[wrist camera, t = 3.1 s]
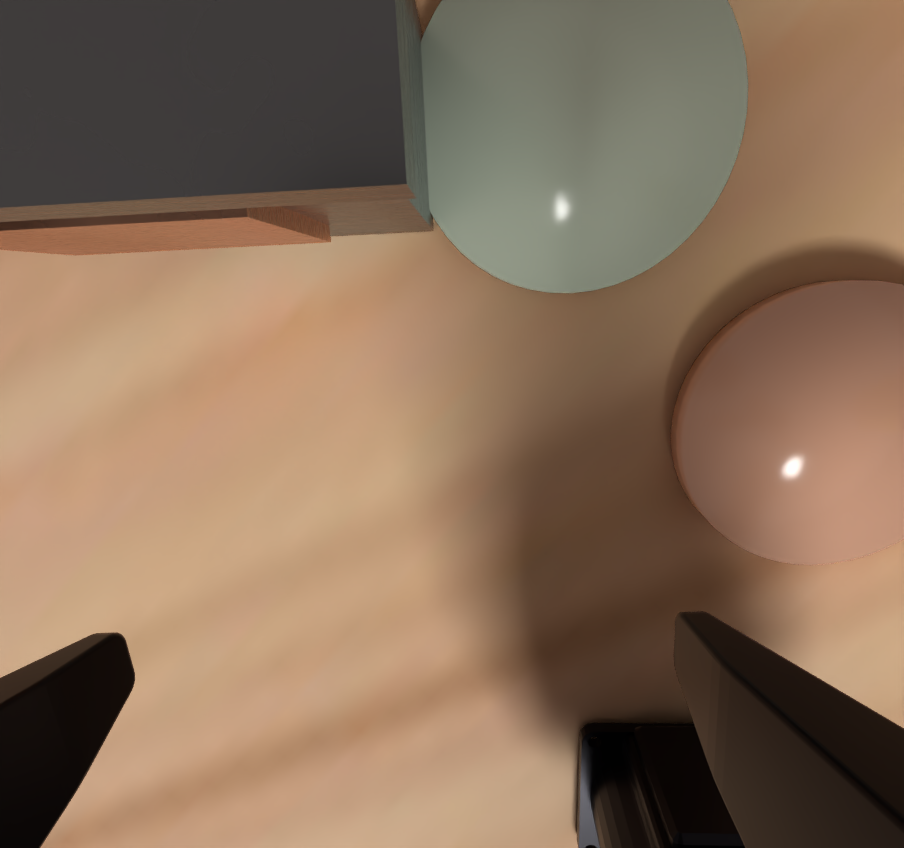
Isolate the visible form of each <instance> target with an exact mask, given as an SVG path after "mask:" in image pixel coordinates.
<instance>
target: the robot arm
mask: <svg viewBox="0 0 904 848" xmlns="http://www.w3.org/2000/svg"><path fill="white" fill-rule="evenodd" d="M674 665H675V670H676V674H677V677H678V680H679V683H680V685H681V688H682V691H683V694H684V697H685V700H686V702H687V705H688V708H689V711H690V714H691V717H692V719H693V722H694V724H680V723H591V724H587V725H585V726H583V727H582V729H581V730H580V738H579V776H578V814H577V843H578V848H904V728H902V727H901V726H899V725H897V724H895V723H894V722H892V721H890V720H889V719H887V718H885V717H884V716H882V715H880V714H878V713H877V712H875V711H873V710H872V709H870V708H868V707H867V706H865V705H863V704H861V703H860V702H858V701H856V700H855V699H853V698H851V697H850V696H848V695H846V694H845V693H843V692H841V691H839V690H838V689H836V688H834V687H833V686H831V685H829V684H828V683H826V682H824V681H822V680H821V679H819V678H817V677H816V676H814V675H812V674H811V673H809V672H807V671H805V670H804V669H802V668H800V667H799V666H797V665H795V664H794V663H792V662H790V661H788V660H787V659H785V658H783V657H782V656H780V655H778V654H777V653H775V652H773V651H772V650H770V649H768V648H766V647H765V646H763V645H761V644H760V643H758V642H756V641H755V640H753V639H751V638H749V637H748V636H746V635H744V634H743V633H741V632H739V631H738V630H736V629H734V628H732V627H731V626H729V625H727V624H726V623H724V622H722V621H721V620H719V619H717V618H716V617H714V616H712V615H710V614H709V613H707V612H703V611H697V612H680V613H679V614H678V615H677V616H676V619H675V638H674ZM134 682H135V672H134V668H133V664H132V661H131V657H130V654H129V650H128V647H127V643H126V640H125V638H124V637H123V635H122V634H119V633H96V634H92V635H90V636H88V637H86V638H84V639H82V640H79V641H77V642H75V643H73V644H71V645H69V646H67V647H65V648H63V649H60V650H58V651H56V652H54V653H52V654H50V655H48V656H46V657H44V658H41V659H39V660H37V661H35V662H33V663H31V664H29V665H27V666H25V667H22V668H20V669H18V670H16V671H14V672H12V673H10V674H8V675H6V676H3V677H1V678H0V848H40V847H41V846H42V844H43V843H44V841H45V840H46V838H47V836H48V835H49V833H50V832H51V830H52V829H53V827H54V826H55V824H56V823H57V821H58V819H59V818H60V816H61V815H62V813H63V812H64V810H65V809H66V807H67V806H68V804H69V802H70V801H71V799H72V798H73V796H74V794H75V793H76V791H77V789H78V788H79V786H80V784H81V783H82V781H83V779H84V777H85V776H86V774H87V772H88V770H89V769H90V767H91V765H92V763H93V761H94V759H95V758H96V756H97V754H98V752H99V750H100V748H101V746H102V745H103V743H104V741H105V739H106V737H107V735H108V734H109V732H110V730H111V728H112V726H113V724H114V722H115V721H116V719H117V717H118V715H119V713H120V711H121V710H122V708H123V706H124V704H125V702H126V700H127V699H128V697H129V695H130V693H131V691H132V689H133V686H134ZM592 737H597V738H594V739H591V738H592Z"/></svg>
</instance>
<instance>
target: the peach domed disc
mask: <svg viewBox="0 0 904 848" xmlns="http://www.w3.org/2000/svg"><path fill="white" fill-rule="evenodd" d="M671 450H672V457H673V463H674V467H675V470H676V473H677V477H678V479H679V481H680V483H681V486H682V488H683V490H684V492H685V494H686V495H687V497H688V498H689V500H690V501H691V503H692V504H693V505H694V507H695V508H696V509H697V510H698V511H699V512H700V513H701V514H702V515H703V516H704V518H705V519H706V520H707V521H708V522H709V523H710V524H711V525H712V526H713V527H714V528H715V529H716V530H717V531H718V532H720V533H721V534H722V535H723V536H725V537H726V538H727V539H728V540H729V541H731V542H733V543H734V544H736V545H737V546H739V547H741V548H742V549H744V550H746V551H748V552H751V553H753V554H755V555H758V556H760V557H763V558H767V559H770V560H774V561H777V562H783V563H789V564H798V565H823V564H834V563H839V562H845V561H851V560H854V559H858V558H861V557H865V556H868V555H871V554H873V553H876V552H878V551H881V550H883V549H886V548H888V547H890V546H892V545H894V544H896V543H898V542H900V541H901V540H903V539H904V285H902V284H897V283H891V282H885V281H867V280H846V281H827V282H817V283H811V284H807V285H803V286H799V287H794V288H791V289H789V290H786V291H783V292H780V293H778V294H775V295H773V296H771V297H769V298H767V299H765V300H763V301H761V302H759V303H757V304H755V305H753V306H752V307H750V308H749V309H747V310H746V311H744V312H743V313H741V314H740V315H738V316H737V317H735V318H734V319H733V320H732V321H731V322H730V323H728V324H727V325H726V326H725V327H724V328H722V329H721V330H720V331H719V332H718V333H717V334H716V335H715V337H714V338H713V339H712V340H711V341H710V342H709V343H708V344H707V345H706V346H705V348H704V349H703V350H702V352H701V353H700V354H699V356H698V357H697V358H696V360H695V361H694V363H693V365H692V367H691V368H690V370H689V372H688V374H687V375H686V377H685V379H684V382H683V384H682V387H681V389H680V391H679V394H678V397H677V400H676V404H675V408H674V411H673V418H672V425H671Z"/></svg>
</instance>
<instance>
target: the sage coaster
mask: <svg viewBox="0 0 904 848" xmlns="http://www.w3.org/2000/svg"><path fill="white" fill-rule="evenodd" d="M421 56H422V75H423V94H424V114H425V133H426V152H427V171H428V190H429V210H430V212H431V214H432V216H433V218H434V219H435V221H436V222H437V224H438V225H439V227H440V228H441V229H442V231H443V232H444V234H445V235H446V237H447V238H448V239H449V240H450V241H451V243H452V244H453V245H454V246H455V247H456V248H457V249H458V250H459V251H460V252H461V253H462V254H463V255H464V256H465V257H466V258H467V259H469V260H470V261H471V262H472V263H473V264H475V265H476V266H477V267H479V268H480V269H482V270H484V271H485V272H487V273H488V274H490V275H491V276H493V277H496V278H498V279H500V280H502V281H504V282H506V283H509V284H512V285H515V286H518V287H521V288H525V289H529V290H535V291H541V292H548V293H577V292H586V291H593V290H597V289H601V288H605V287H609V286H613V285H616V284H618V283H621V282H623V281H626V280H628V279H631V278H633V277H635V276H637V275H639V274H641V273H642V272H644V271H646V270H648V269H650V268H652V267H653V266H655V265H656V264H657V263H659V262H660V261H662V260H663V259H664V258H666V257H667V256H669V255H670V254H671V253H672V252H673V251H674V250H676V249H677V248H678V247H679V246H680V245H681V244H682V243H683V242H684V241H686V240H687V239H688V237H689V236H690V235H691V234H692V233H693V232H694V231H695V230H696V228H697V227H698V226H699V225H700V224H701V223H702V221H703V220H704V219H705V217H706V216H707V214H708V213H709V211H710V210H711V209H712V207H713V206H714V204H715V203H716V201H717V199H718V197H719V196H720V194H721V192H722V190H723V188H724V186H725V185H726V183H727V181H728V178H729V176H730V173H731V171H732V168H733V166H734V163H735V161H736V158H737V155H738V152H739V148H740V144H741V141H742V137H743V133H744V127H745V120H746V114H747V103H748V75H747V63H746V56H745V51H744V46H743V42H742V37H741V33H740V30H739V27H738V24H737V21H736V19H735V16H734V13H733V10H732V8H731V6H730V4H729V2H728V1H727V0H442V1H441V2H440V4H439V5H438V7H437V9H436V10H435V12H434V14H433V16H432V18H431V20H430V22H429V24H428V26H427V28H426V30H425V32H424V35H423V38H422V40H421Z"/></svg>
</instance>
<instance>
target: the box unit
mask: <svg viewBox="0 0 904 848" xmlns="http://www.w3.org/2000/svg"><path fill="white" fill-rule="evenodd" d="M422 38H423V35H422V30H421V25H420V21H419V16H418V12H417V7H416V2H415V0H0V250H11V251H24V252H37V253H50V254H64V255H93V254H112V253H131V252H151V251H170V250H189V249H208V248H228V247H247V246H266V245H285V244H305V243H324V242H331V237H330V236H345V235H364V234H383V233H402V232H421V231H433V216H432V214H431V212H430V210H429V190H428V171H427V152H426V133H425V114H424V94H423V75H422V56H421V40H422Z"/></svg>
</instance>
